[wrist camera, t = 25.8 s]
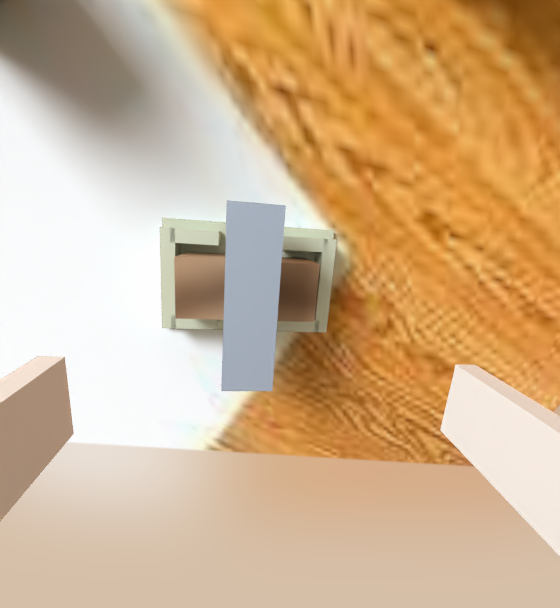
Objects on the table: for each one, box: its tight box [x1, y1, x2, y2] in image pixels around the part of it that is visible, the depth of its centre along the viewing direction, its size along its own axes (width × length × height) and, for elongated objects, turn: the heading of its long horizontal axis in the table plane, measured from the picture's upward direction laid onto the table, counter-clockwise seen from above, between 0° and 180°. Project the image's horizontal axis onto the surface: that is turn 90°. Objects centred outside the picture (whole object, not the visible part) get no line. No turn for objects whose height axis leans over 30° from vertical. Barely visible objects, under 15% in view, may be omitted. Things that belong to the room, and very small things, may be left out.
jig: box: [160, 218, 337, 333], centre depth 35 cm, size 13×20×4 cm, turn 86°
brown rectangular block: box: [174, 252, 320, 322], centre depth 33 cm, size 6×14×7 cm, turn 87°
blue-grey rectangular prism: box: [222, 201, 286, 391], centre depth 27 cm, size 16×4×5 cm, turn 176°
